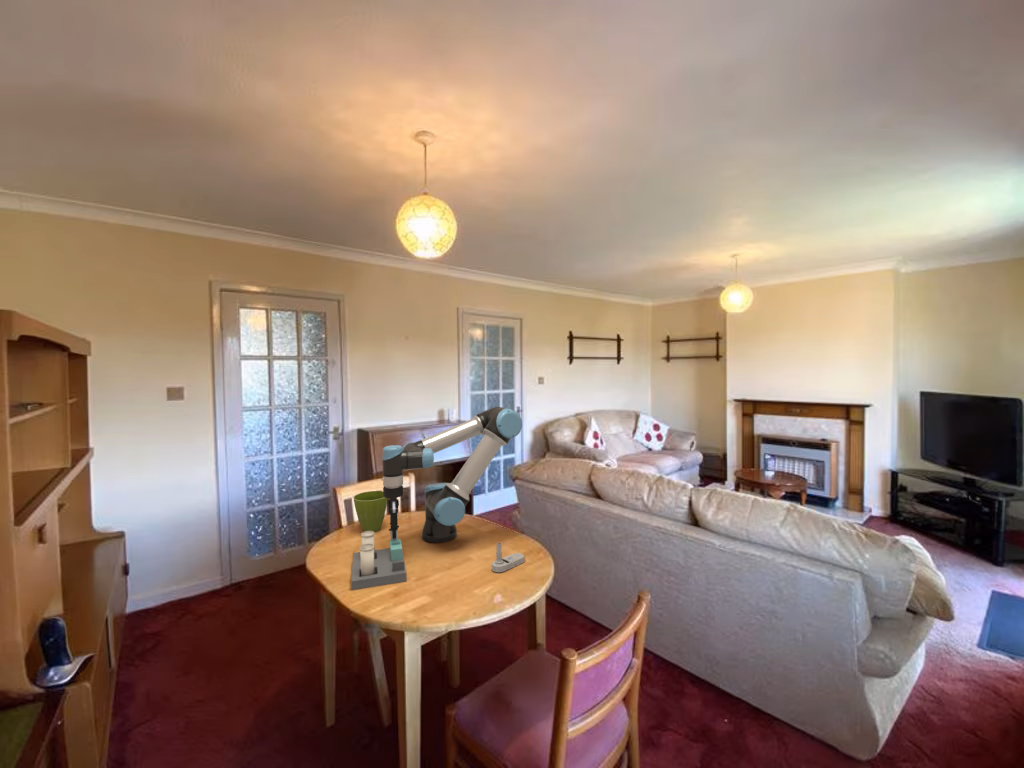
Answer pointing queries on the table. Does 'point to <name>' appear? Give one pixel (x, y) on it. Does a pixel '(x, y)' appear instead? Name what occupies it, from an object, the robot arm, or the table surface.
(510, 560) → the electronic device
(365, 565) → the cream peg
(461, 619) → the table surface
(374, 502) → the flower pot
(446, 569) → the table surface
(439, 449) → the robot arm
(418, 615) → the table surface
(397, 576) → the housing
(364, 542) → the white cylinder
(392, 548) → the lid
